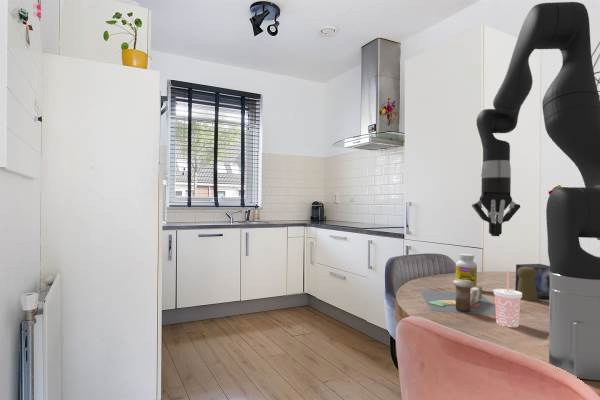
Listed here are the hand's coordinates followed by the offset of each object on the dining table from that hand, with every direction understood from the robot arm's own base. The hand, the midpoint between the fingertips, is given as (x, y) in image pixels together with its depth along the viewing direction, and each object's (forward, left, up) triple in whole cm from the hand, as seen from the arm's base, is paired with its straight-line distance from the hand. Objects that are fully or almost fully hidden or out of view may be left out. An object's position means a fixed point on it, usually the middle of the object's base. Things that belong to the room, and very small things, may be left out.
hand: (495, 235), depth 106 cm
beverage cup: (-19, +3, -21) cm, 29 cm away
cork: (+9, -12, -21) cm, 26 cm away
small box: (+18, -18, -21) cm, 33 cm away
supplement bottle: (+20, +3, -21) cm, 29 cm away
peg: (-5, +8, -19) cm, 21 cm away
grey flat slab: (0, +10, -21) cm, 23 cm away
